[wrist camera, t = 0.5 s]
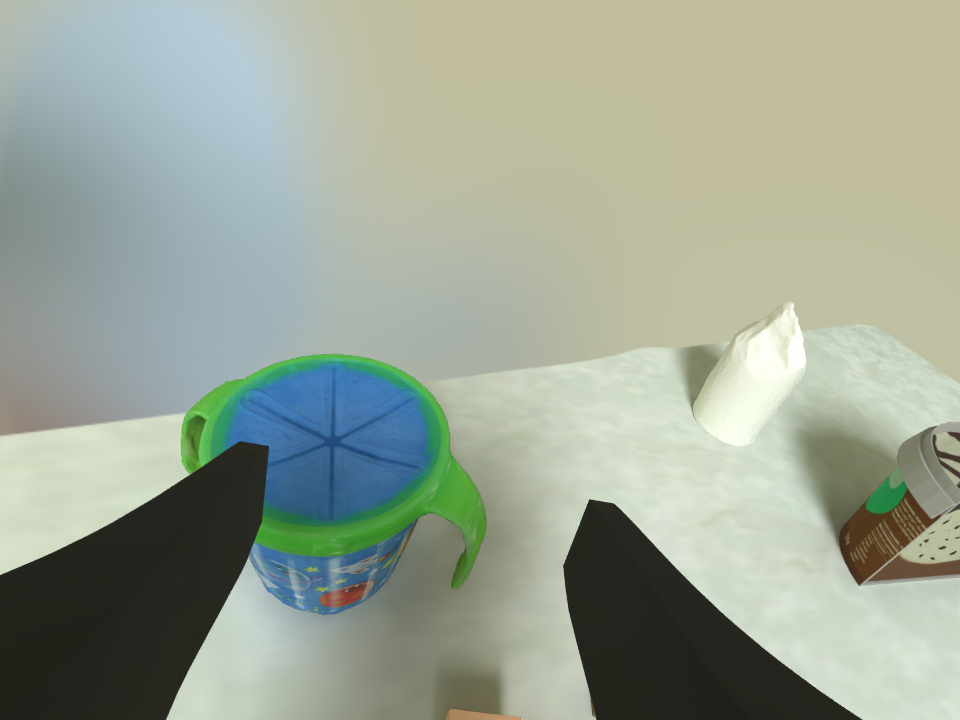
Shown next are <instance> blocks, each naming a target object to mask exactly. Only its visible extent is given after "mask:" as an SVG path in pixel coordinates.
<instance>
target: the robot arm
mask: <svg viewBox="0 0 960 720" xmlns="http://www.w3.org/2000/svg"><path fill="white" fill-rule="evenodd" d="M268 455H269V446H267V445H261V444H255V443H249V442H243V441H239V442H237V443H236V444H234V445H233V446H231V447H230V448H228V449H227V450H225V451H224V452H222V453H221V454H219V455H218V456H217V457H215V458H214V459H212V460H211V461H209V462H208V463H206V464H205V465H204V466H202V467H201V468H199V469H198V470H196V471H195V472H193V473H192V474H190V475H189V476H187V477H186V478H184V479H183V480H181V481H180V482H178V483H177V484H175V485H174V486H172V487H170V488H169V489H167V490H166V491H164V492H163V493H161V494H160V495H158V496H156V497H155V498H153V499H152V500H150V501H148V502H147V503H145V504H143V505H141V506H140V507H138V508H136V509H135V510H133V511H131V512H130V513H128V514H126V515H124V516H123V517H121V518H119V519H118V520H116V521H114V522H112V523H111V524H109V525H107V526H105V527H103V528H101V529H99V530H98V531H96V532H94V533H92V534H90V535H88V536H86V537H84V538H82V539H80V540H78V541H76V542H74V543H72V544H69V545H67V546H65V547H63V548H61V549H59V550H57V551H55V552H53V553H51V554H49V555H46V556H44V557H42V558H39V559H37V560H35V561H32V562H30V563H28V564H25V565H23V566H21V567H18V568H16V569H14V570H11V571H9V572H6V573H4V574H2V575H0V720H166V718H167V716H168V714H169V711H170V709H171V707H172V705H173V702H174V700H175V698H176V695H177V693H178V691H179V689H180V687H181V685H182V683H183V681H184V679H185V677H186V675H187V672H188V670H189V668H190V666H191V665H192V663H193V661H194V659H195V657H196V655H197V653H198V652H199V650H200V648H201V646H202V644H203V642H204V641H205V639H206V637H207V635H208V633H209V631H210V629H211V628H212V626H213V624H214V622H215V620H216V618H217V617H218V615H219V613H220V611H221V609H222V607H223V605H224V604H225V602H226V600H227V598H228V596H229V594H230V592H231V590H232V589H233V587H234V585H235V583H236V581H237V579H238V577H239V575H240V574H241V572H242V570H243V568H244V566H245V564H246V561H247V559H248V556H249V554H250V551H251V549H252V546H253V544H254V541H255V539H256V536H257V533H258V531H259V528H260V526H261V523H262V517H263V506H264V496H265V486H266V475H267V465H268ZM563 568H564V578H565V587H566V595H567V602H568V609H569V613H570V618H571V622H572V626H573V630H574V634H575V638H576V642H577V646H578V649H579V653H580V657H581V661H582V665H583V669H584V672H585V676H586V680H587V684H588V688H589V692H590V696H591V699H592V703H593V707H594V711H595V716H596V720H862V719H861V718H859V717H857V716H856V715H854V714H853V713H851V712H850V711H848V710H847V709H845V708H844V707H842V706H841V705H839V704H838V703H836V702H835V701H834V700H832V699H831V698H829V697H828V696H826V695H825V694H823V693H822V692H821V691H819V690H818V689H816V688H815V687H814V686H812V685H811V684H810V683H808V682H807V681H806V680H804V679H803V678H801V677H800V676H799V675H797V674H796V673H795V672H793V671H792V670H791V669H789V668H788V667H787V666H785V665H784V664H783V663H781V662H780V661H779V660H778V659H776V658H775V657H774V656H772V655H771V654H770V653H769V652H767V651H766V650H765V649H764V648H762V647H761V646H760V645H759V644H758V643H756V642H755V641H754V640H753V639H752V638H750V637H749V636H748V635H747V634H746V633H745V632H743V631H742V630H741V629H740V628H739V627H737V626H736V625H735V624H734V623H733V622H732V621H731V620H729V619H728V618H727V617H726V616H725V615H724V614H723V613H722V612H720V611H719V610H718V609H717V608H716V607H715V606H714V605H713V604H712V603H711V602H710V601H709V600H708V599H707V598H706V597H705V596H704V595H703V594H702V593H700V592H699V591H698V590H697V589H696V588H695V587H694V586H693V585H692V584H691V583H690V582H689V581H688V580H687V579H686V578H685V577H684V576H683V575H682V574H681V573H680V572H679V571H678V570H677V569H676V568H675V567H674V565H673V564H672V563H671V562H670V561H669V560H668V559H667V558H666V557H665V556H664V555H663V554H662V553H661V552H660V551H659V550H658V549H657V548H656V547H655V545H654V544H653V543H652V542H651V541H650V540H649V539H648V538H647V537H646V536H645V535H644V534H643V533H642V531H641V530H640V529H639V528H638V527H637V526H636V525H635V524H634V523H633V522H632V521H631V520H630V519H629V518H628V517H627V516H626V515H625V514H624V513H623V512H622V511H621V510H620V509H619V508H618V507H617V506H616V505H615V504H614V503H608V502H602V501H596V500H590V499H589V502H588V504H587V507H586V509H585V512H584V514H583V517H582V519H581V522H580V525H579V527H578V530H577V532H576V535H575V537H574V540H573V542H572V545H571V547H570V550H569V553H568V555H567V558H566V560H565V563H564V565H563Z"/></svg>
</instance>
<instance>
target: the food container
mask: <svg viewBox="0 0 960 720" xmlns="http://www.w3.org/2000/svg"><path fill="white" fill-rule="evenodd" d="M897 459H898V467H897V468H896V469H895V470H894V471H893V472H892V473H891V474H890V475H889V477H888V478H887V479H886V480H885V481H884V482H883V483H882V484H881V485H880V486H879V488H878V489H877V490H876V491H875V492H874V493H873V494H872V495H871V496H870V497H869V499H868V500H867V501H866V502H865V503H864V504H863V505H862V506H861V507H860V508H859V510H858V511H857V512H856V513H855V514H854V515H853V516H852V517H851V518H850V519H849V521H848V522H847V523H846V524H845V525H844V527H843V528H842V530H841V534H840V547H841V552H842V555H843V558H844V560H845V563H846V565H847V567H848V569H849V571H850V573H851V574H852V576H853V577H854V579H855V580H856V582H857V583H858V585H859V586H864V585H876V584H888V583H900V582H912V581H924V580H936V579H948V578H960V422H947V423H943V424H940V425H939V426H934V427H930V428H927V429H926V430H924V431H922V432H920V433H918V434H917V435H915V436H913V437H911V438H909V439H908V440H906V441H905V442H904V443H902V445H901V446H900V448H899V450H898V456H897Z"/></svg>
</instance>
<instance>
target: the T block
mask: <svg viewBox="0 0 960 720" xmlns="http://www.w3.org/2000/svg"><path fill="white" fill-rule="evenodd" d="M445 720H521V718H520V717H512V716H504V715H496V714H488V713H480V712H472V711H464V710H456V709H450V710H449V712H448V714H447V716H446V718H445Z"/></svg>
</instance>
